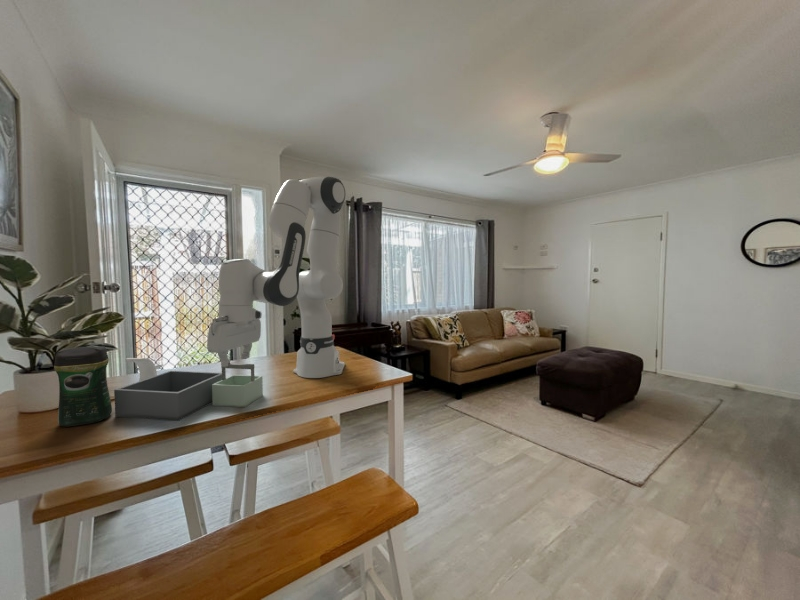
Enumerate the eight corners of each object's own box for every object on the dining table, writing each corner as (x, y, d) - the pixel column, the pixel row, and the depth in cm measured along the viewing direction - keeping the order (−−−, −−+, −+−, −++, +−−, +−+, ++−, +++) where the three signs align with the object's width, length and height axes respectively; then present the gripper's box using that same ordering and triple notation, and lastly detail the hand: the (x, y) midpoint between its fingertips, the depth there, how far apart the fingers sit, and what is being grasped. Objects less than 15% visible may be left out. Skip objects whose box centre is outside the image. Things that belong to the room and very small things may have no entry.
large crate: (171, 392, 104) (170, 370, 103) (224, 395, 101) (224, 373, 101) (115, 416, 86) (114, 389, 85) (178, 420, 84) (177, 393, 83)
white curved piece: (127, 398, 98) (125, 358, 98) (142, 391, 105) (141, 353, 104) (142, 398, 99) (141, 358, 98) (157, 391, 105) (155, 354, 104)
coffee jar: (115, 411, 89) (112, 342, 88) (105, 422, 82) (101, 348, 81) (67, 417, 85) (63, 345, 84) (52, 430, 78) (47, 352, 77)
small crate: (233, 393, 103) (232, 359, 102) (262, 395, 102) (262, 360, 101) (212, 405, 94) (211, 367, 93) (244, 407, 92) (243, 369, 92)
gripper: (222, 318, 85) (223, 372, 86) (264, 312, 105) (264, 355, 106) (200, 317, 86) (200, 370, 87) (246, 311, 106) (246, 354, 107)
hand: (236, 362), depth 97 cm, fingers open, 8 cm apart
